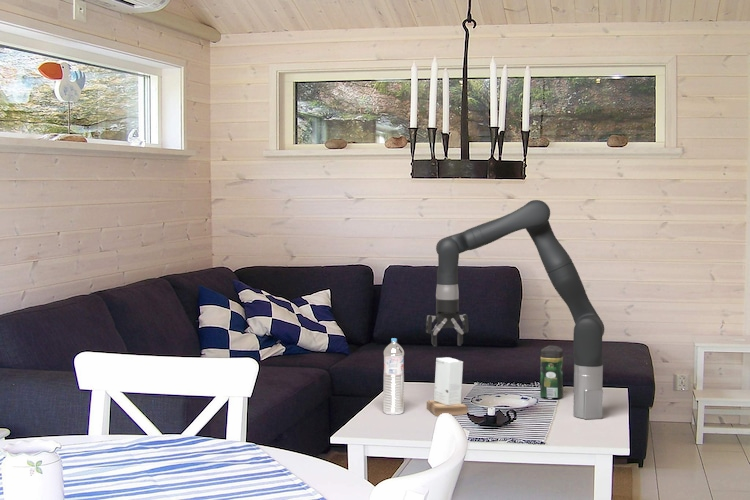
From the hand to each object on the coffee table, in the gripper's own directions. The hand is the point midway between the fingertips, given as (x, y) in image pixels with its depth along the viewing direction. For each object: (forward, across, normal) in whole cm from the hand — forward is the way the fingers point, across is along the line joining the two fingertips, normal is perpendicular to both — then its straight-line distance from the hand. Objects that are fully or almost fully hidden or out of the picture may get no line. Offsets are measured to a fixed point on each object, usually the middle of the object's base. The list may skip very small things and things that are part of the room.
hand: (447, 345), depth 314 cm
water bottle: (+22, -18, +2) cm, 29 cm away
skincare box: (+20, 0, 0) cm, 20 cm away
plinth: (+22, 0, 0) cm, 22 cm away
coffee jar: (+23, +44, +15) cm, 52 cm away
